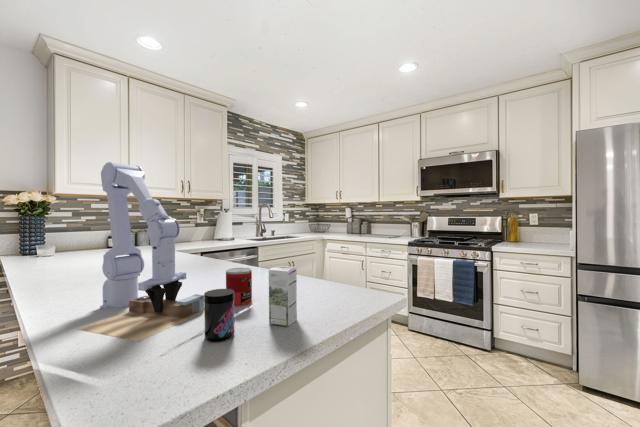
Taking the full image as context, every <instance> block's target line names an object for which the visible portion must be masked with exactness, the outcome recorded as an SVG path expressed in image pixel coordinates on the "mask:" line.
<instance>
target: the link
mask: <svg viewBox="0 0 640 427" xmlns="http://www.w3.org/2000/svg"><path fill="white" fill-rule="evenodd" d="M144 296H145V295H143V296H142V297H144ZM146 296H147V297H148V300H145V301H139V298H140V297H141V296H140V297H139V296H138V298H136V299H133V300H129V306H128V311H129V312H134V313H141V314H143V313H150V314H157V315H164V316H170V317H177V318H184V317H187V316H189V315H191V314H192V303H190V304H187V305H178V304H177V301H178V300H175V301H174V300H166V299H165V298H163V310H162V312H161V313H157V312H155V311H154V308H153V305H152V302H151V300H150V298H149V296H148V295H146Z"/></svg>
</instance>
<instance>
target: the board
mask: <svg viewBox="0 0 640 427" xmlns="http://www.w3.org/2000/svg"><path fill="white" fill-rule="evenodd" d="M203 313H204V311H203V312H200V313H197V312H192V314H191V315H189V316H187V317H184V318H177V317H170V316H164V315H157V314H150V313H143V314H141V313H134V312H129V310H128V311H125V312H122V313H120V314H117V315H113V316H110V317H107V318H105V319H102V320H98V321H96V322H92V323H90V324H86V325H84V326H80V327H78V328H76V330H79V331H84V332H89V333H94V334H97V335H98V334H99V335H103V336H110V337H114V338H119V339H123V340H124V339H125V340H130V341H134V342H142V341H144V340H146V339H147V338H150V337H152V336H154V335H157V334H159V333H161V332H164V331H165V330H167V329H170V328H172V327H174V326H177V325H178V324H181V323H183V322H185V321H188V320H190V319H192V318H194V317H197V316H198V315H201V314H203Z"/></svg>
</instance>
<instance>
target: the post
mask: <svg viewBox="0 0 640 427" xmlns="http://www.w3.org/2000/svg"><path fill="white" fill-rule="evenodd" d="M143 296H144V297H143ZM143 296H140V298H139V297H138V298H139V301H145V300H148V297H147V296H148V295H143Z"/></svg>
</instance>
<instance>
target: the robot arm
mask: <svg viewBox="0 0 640 427" xmlns="http://www.w3.org/2000/svg"><path fill="white" fill-rule="evenodd" d="M100 177H101V178H100V180H101V186H102V191H103V192H105V193H106V197H107V198H106V199H107V206H108V216H109V226H110V234H111V242H112V243H111V244H112V247H111V248H110V249H109V250H107V252H105V253H104V254H103V256H102V257H103V259H102V260H103V261H102V267H101V268H102V273H103V275H104V277H106V280H105V281H104V283H103V284H102V305H100V306H99V308H101V309H105V308H108V307H111V308H123V307H124V308H125V307H129V300H133V299H136V298H139V291H141V292H145V293H146V295H147V296H149V298H150V300H151V302H152V305H153V308H154V311H155V312H157V313H161V312H162V310H163V299H166V300H174V301H177V297H178V294H179V292H180V289H181V288H182V286H183V281H181V280H186V279H187V272H182V271H181V272H176V238H177V237H178V236H179V234H180V224H179V222H178V220H177V219H176V218H173V217H172V216H169V215H168V213H167V212H166V210H165V209H164V207H163V205H162V204H161V202H160V200H158V199H155V198H153V197H152V195H151V193H150V191H149V189H148V187H147V185H146V182H145V178H146V174H145V171H144V170H143V168H142V167H141V166H140V165H129V164H121V163H115V162H114V163H113V162H111V161H108V162H106V163H104V165H103V167H102V169H101V171H100ZM129 194H132V195H133V196H134V198H135V199H136V201H138V203H139V206H138V211H139V213H140V215H141V216H142V218H143V220H144V221H145V223H146V225H147V229H146V234H147V237H148V238H149V244H150V247H151V252H152V253H151V262H152V265H151V267H152V268H151V270H152V272H151V274H152V277H151V278H149V279H146V280H144V281H140V282H138V280H139V276H141V273H142V272H143V271H144V269H145V260H144V258H143V256H142V251H141V249H139V248H138V247H136V246H135V245H133V240H132V230H131V223H130V214H129V213H130V212H129V206H128V196H129ZM164 297H165V298H164Z"/></svg>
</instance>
